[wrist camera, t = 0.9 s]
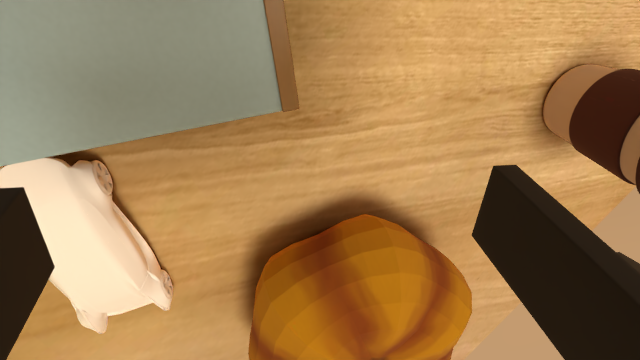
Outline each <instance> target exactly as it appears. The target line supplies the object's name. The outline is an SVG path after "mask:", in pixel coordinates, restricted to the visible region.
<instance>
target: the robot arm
mask: <svg viewBox="0 0 640 360" xmlns="http://www.w3.org/2000/svg"><path fill="white" fill-rule="evenodd" d="M472 236H473V238H474V239H475V240H476V242H477V243H478V244H479V246H480V247H481V248H482V250H483V251H484V252H485V254H486V255H487V256H488V258H489V259H490V261H491V262H492V263H493V265H494V266H495V267H496V269H497V270H498V271H499V273H500V274H501V275H502V277H503V278H504V279H505V281H506V282H507V283H508V285H509V286H510V287H511V289H512V290H513V291H514V293H515V294H516V295H517V297H518V298H519V299H520V301H521V302H522V303H523V305H524V306H525V307H526V309H527V310H528V311H529V313H530V314H531V315H532V317H533V318H534V319H535V321H536V322H537V323H538V325H539V326H540V327H541V329H542V330H543V331H544V332H545V334H546V335H547V336H548V338H549V339H550V341H551V342H552V343H553V345H554V346H555V347H556V349H557V350H558V351H559V353H560V354H561V355H562V357H563V358H564V359H565V360H640V264H639V263H637V262H636V261H634V260H632V259H630V258H629V257H627V256H625V255H623V254H622V253H620V252H615V251H614V250H613V249H611V248H610V247H609V246H608V245H607V244H606V243H605V242H603V241H602V240H601V239H600V238H599V237H598V236H596V235H595V234H594V233H593V232H592V231H591V230H590V229H589V228H587V227H586V226H585V225H584V224H583V223H582V222H581V221H579V220H578V219H577V218H576V217H575V216H574V215H573V214H571V213H570V212H569V211H568V210H567V209H566V208H565V207H563V206H562V205H561V204H560V203H559V202H558V201H557V200H555V199H554V198H553V197H552V196H551V195H550V194H549V193H547V192H546V191H545V190H544V189H543V188H542V187H541V186H539V185H538V184H537V183H536V182H535V181H534V180H533V179H531V178H530V177H529V176H528V175H527V174H526V173H524V172H523V171H522V170H521V169H520V168H519V167H518V166H516V165H503V166H493V169H492V172H491V175H490V178H489V182H488V185H487V188H486V191H485V194H484V198H483V201H482V204H481V207H480V210H479V214H478V217H477V220H476V223H475V226H474V229H473V233H472ZM54 268H55V266H54V263H53V261H52V258H51V256H50V253H49V251H48V248H47V245H46V243H45V240H44V238H43V235H42V233H41V230H40V228H39V225H38V222H37V220H36V217H35V215H34V212H33V210H32V207H31V205H30V202H29V199H28V197H27V194H26V192H25V189H24V187H16V188H0V360H6V359H7V357H8V355H9V353H10V352H11V350H12V348H13V346H14V344H15V342H16V340H17V338H18V336H19V334H20V333H21V331H22V329H23V327H24V325H25V323H26V321H27V319H28V317H29V315H30V313H31V312H32V310H33V308H34V306H35V304H36V302H37V300H38V298H39V296H40V294H41V293H42V291H43V289H44V287H45V285H46V283H47V281H48V279H49V277H50V275H51V273H52V272H53V270H54Z"/></svg>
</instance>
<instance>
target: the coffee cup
mask: <svg viewBox="0 0 640 360" xmlns="http://www.w3.org/2000/svg"><path fill="white" fill-rule="evenodd" d="M543 116H544V121H545V124H546V125H547V127H548V128H549V129H550V130H551V131H552V132H553V133H555V134H556V135H558V136H559V137H561V138H563V139H564V140H566V141H567V142H569V143H570V144H572V145H573V146H574V148H575V149H576V150H577V151H579V152H580V153H582V154H583V155H585V156H586V157H588V158H589V159H591V160H593V161H594V162H596V163H597V164H599V165H600V166H602V167H604V168H605V169H607V170H608V171H610V172H611V173H613V174H614V175H616V176H618V177H619V178H621V179H622V180H624V181H626V182H628V183H630V184H633V185H636V186H637V189H638V192H639V193H640V70H635V69H616V68H610V67H605V66H600V65H595V64H585V65H581V66H577V67H575V68H573V69H571V70H569V71H568V72H566V73H565V74H564V75H562V76H561V77H560V78H559V79H558V80H557V81H556V83H555V84H554V85H553V87H552V88H551V90H550V91H549V93H548V95H547V97H546V100H545V103H544V109H543Z"/></svg>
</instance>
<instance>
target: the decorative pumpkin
mask: <svg viewBox="0 0 640 360" xmlns="http://www.w3.org/2000/svg"><path fill="white" fill-rule="evenodd" d="M471 313H472V294H471V290H470V289H469V287H468V285H467V283H466V281H465V279H464V277H463V275H462V274H461V272H460V271H459V270H458V269H457V268H456V267H455V265H454V264H453V263H452V262H451V261H450V260H449V259H448V258H447V257H446V256H444V255H443V254H442V253H441V252H440V251H438V250H437V249H436V248H434V247H432V246H431V245H429V244H427V243H425V242H424V241H422V240H420V239H418V238H417V237H415V236H414V235H412V234H411V233H410V232H408V231H407V230H405V229H404V228H402V227H401V226H399V225H398V224H396V223H393V222H390V221H387V220H384V219H381V218H378V217H376V216H371V215H367V214H363V215H360V216H357V217H354V218H351V219H347V220H344V221H342V222H340V223H338V224H336V225H334V226H332V227H331V228H329V229H327V230H325V231H323V232H321V233H320V234H318V235H315V236H313V237H310V238H307V239H304V240H302V241H299V242H296V243H294V244H291V245H290V246H288V247H286V248H285V249H283V250H281V251H280V252H278V253H276V254H274V255H273V256H271V258H270V259H269V260H268V262H267V263H266V265H265V266H264V269H263V271H262V274H261V277H260V279H259V282H258V285H257V287H256V292H255V303H254V313H253V321H252V327H251V333H250V343H249V353H248V354H249V359H250V360H450V359H451V355H452V350H453V347H454V346H455V345H456V343H457V342H458V340H459V338H460V336H461V335H462V333H463V331H464V329H465V327H466V325H467V323H468V321H469V318H470V316H471Z"/></svg>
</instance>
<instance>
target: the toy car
mask: <svg viewBox="0 0 640 360" xmlns="http://www.w3.org/2000/svg"><path fill="white" fill-rule="evenodd" d="M16 187H24V189H25V192H26V194H27V197H28V199H29V202H30V205H31V207H32V210H33V212H34V215H35V217H36V220H37V222H38V225H39V228H40V230H41V233H42V235H43V238H44V240H45V243H46V245H47V248H48V251H49V253H50V256H51V258H52V261H53V263H54V266H55V268H54V270H53V272H52V273H51V275H50V277H49V279H48V280H49V281H50V282H51V283H52V284H53V285H55V286H56V287H57V288H58V289H59V290H60V291H61V292H62V293H63V294H64V295H65V296H66V297H67V298H68V299H70V301H71V303H72V305H73V307H74V309H75V310H76V314H77V317H78V320H79V321H80V323H81V324H82V325H83V326H84V327H86V328H89V329H92V330H95V331H96V332H98V333H100V334H102V333H104V332H105V331H106V328H107V321H108V316H111V315H118V314H122V313H125V312H128V311H130V310H133V309H136V308H139V307H142V306H145V305H148V304H151V303H155V304H156V305H157V306H158V307H160V308H161V309H163V310H165V311H168V310H170V303H171V300H172V297H173V286H172V282H171V279H170V277H169V275H168V273H167V272H166V271H164V270H161V268H160V266H159V264H158V261H157V259H156V257H155V255H154V253H153V251H152V250H151V248H150V247H149V245H148V244H147V242H146V241H145V240H144V238H143V237H142V236H141V235H140V233H139V232H138V231H137V230H136V228H135V227H134V226H133V225H132V224H131V222H130V221H129V220H128V219H127V218H126V216H125V215H124V214H123V213H122V212H121V210H120V209H119V208H118V207H117V206H116V204H115V203H114V202H113V201H112V194H111V192H112V189H113V183H112V179H111V176H110V173H109V171H108V170H107V168H106V167H105V165H104V164H103V163H101V162H100V161H98V160H94V161H91V162H89V161H84V160H79V161H77V162H76V163H75V164H74V165H73V166H70V165H69V164H68V163H66V162H65V161H63V160H61V159H57V158H51V157H46V158H41V159H36V160H31V161H26V162H21V163H16V164H11V165H7V166H5V167H3V168H1V169H0V188H16ZM109 248H110V249H109Z"/></svg>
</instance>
